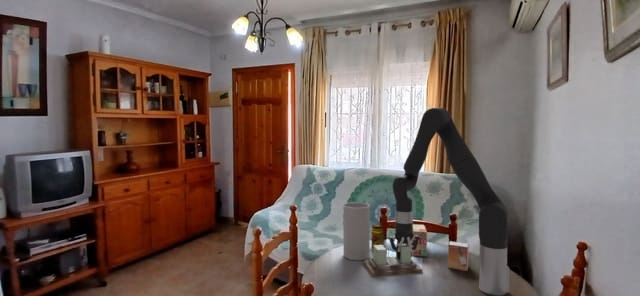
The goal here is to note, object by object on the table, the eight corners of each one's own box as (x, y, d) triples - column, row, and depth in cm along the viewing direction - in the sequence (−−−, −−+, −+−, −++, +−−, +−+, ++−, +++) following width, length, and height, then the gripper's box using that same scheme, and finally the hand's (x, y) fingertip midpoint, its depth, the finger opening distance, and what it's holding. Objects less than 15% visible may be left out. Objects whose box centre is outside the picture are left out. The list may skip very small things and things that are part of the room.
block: (382, 262, 150) (382, 244, 150) (386, 267, 144) (386, 249, 144) (373, 262, 150) (373, 245, 149) (377, 268, 144) (377, 249, 143)
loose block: (405, 259, 152) (405, 242, 151) (410, 265, 146) (410, 247, 146) (396, 260, 151) (397, 243, 151) (402, 265, 145) (402, 247, 145)
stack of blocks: (410, 241, 183) (410, 219, 183) (422, 242, 182) (422, 220, 181) (413, 256, 162) (413, 230, 162) (426, 256, 161) (427, 231, 160)
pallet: (409, 260, 156) (409, 254, 156) (422, 272, 142) (422, 265, 142) (363, 263, 153) (363, 256, 153) (372, 276, 139) (372, 269, 139)
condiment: (369, 249, 171) (369, 226, 171) (372, 244, 179) (372, 222, 179) (383, 251, 169) (383, 227, 168) (386, 245, 177) (386, 223, 176)
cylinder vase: (341, 260, 157) (341, 207, 156) (345, 250, 170) (345, 201, 168) (368, 262, 154) (368, 208, 153) (370, 252, 167) (370, 202, 165)
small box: (447, 268, 147) (447, 244, 147) (449, 263, 152) (449, 240, 152) (467, 271, 144) (467, 247, 143) (468, 266, 149) (468, 243, 148)
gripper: (391, 223, 143) (391, 263, 144) (423, 222, 145) (422, 261, 146) (385, 219, 150) (385, 256, 151) (415, 217, 152) (415, 255, 153)
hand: (403, 258), depth 148 cm, fingers closed on loose block, 4 cm apart
